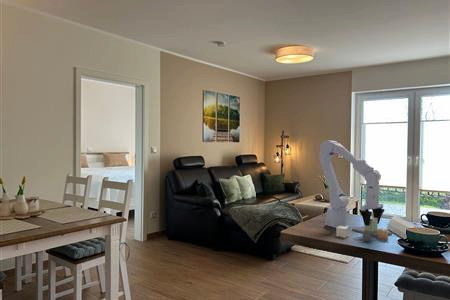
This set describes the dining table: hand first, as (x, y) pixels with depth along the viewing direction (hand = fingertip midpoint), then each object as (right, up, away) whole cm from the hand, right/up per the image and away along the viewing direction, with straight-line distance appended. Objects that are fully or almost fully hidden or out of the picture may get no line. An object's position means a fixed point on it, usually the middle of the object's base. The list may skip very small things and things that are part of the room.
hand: (371, 224), depth 154 cm
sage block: (0, -3, 0) cm, 3 cm away
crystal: (+14, -5, -3) cm, 15 cm away
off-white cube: (-16, -4, -6) cm, 18 cm away
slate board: (0, -4, 0) cm, 4 cm away
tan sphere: (0, -4, -10) cm, 11 cm away
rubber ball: (-9, -4, -15) cm, 17 cm away
